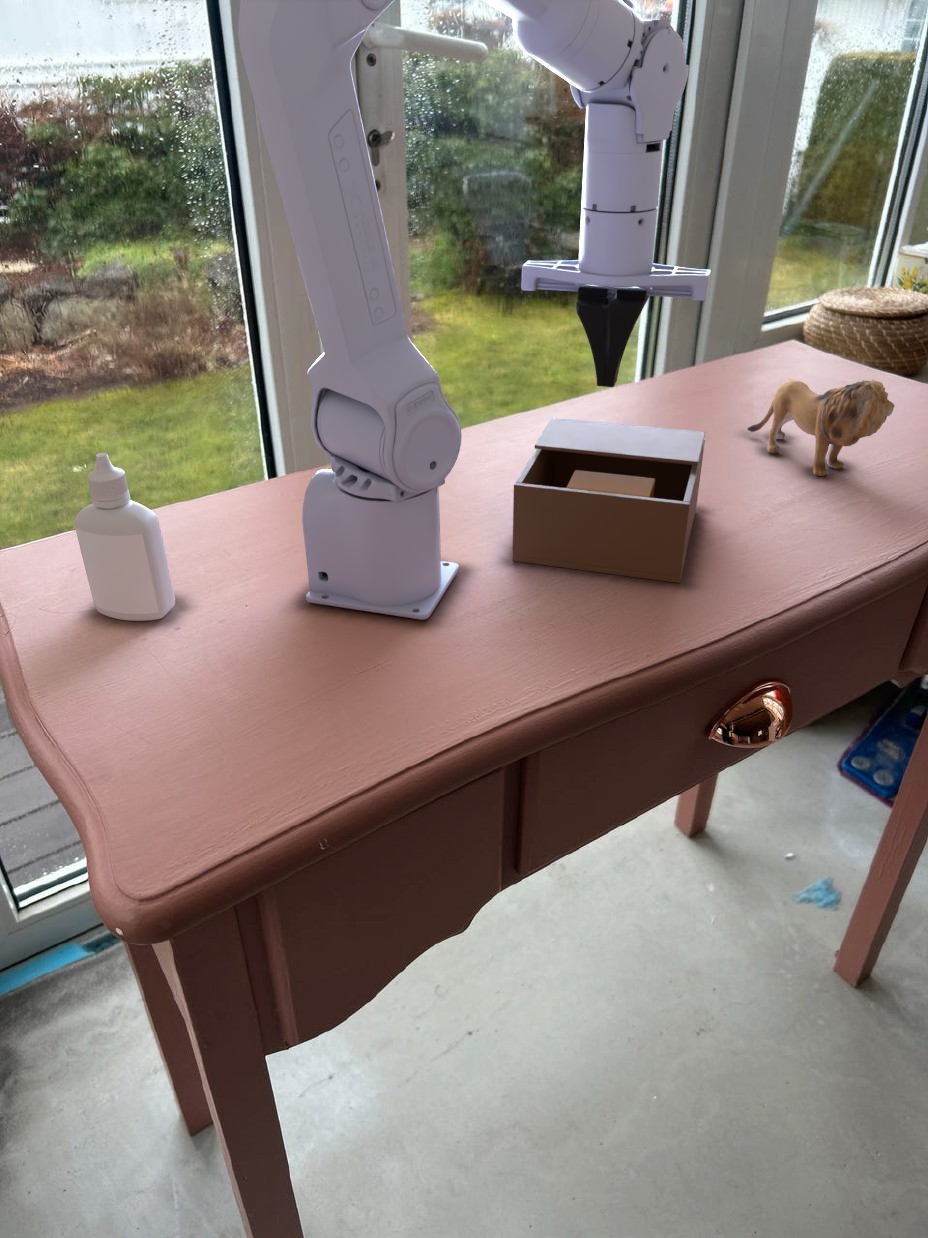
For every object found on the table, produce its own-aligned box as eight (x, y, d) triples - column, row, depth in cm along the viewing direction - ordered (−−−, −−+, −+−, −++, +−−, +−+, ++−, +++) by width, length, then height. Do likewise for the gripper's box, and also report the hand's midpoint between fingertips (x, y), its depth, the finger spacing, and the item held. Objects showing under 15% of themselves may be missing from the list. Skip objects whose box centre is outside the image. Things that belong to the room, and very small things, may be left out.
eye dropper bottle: (131, 635, 66) (94, 475, 60) (88, 608, 69) (48, 453, 63) (184, 610, 69) (154, 455, 63) (141, 585, 72) (108, 435, 66)
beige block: (563, 539, 77) (566, 487, 74) (572, 520, 80) (574, 469, 77) (644, 549, 75) (649, 496, 73) (650, 529, 78) (655, 478, 76)
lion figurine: (887, 476, 88) (910, 381, 83) (849, 490, 85) (871, 393, 80) (763, 429, 98) (778, 342, 93) (727, 440, 96) (740, 351, 91)
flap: (534, 448, 77) (534, 445, 76) (551, 420, 82) (551, 417, 81) (697, 465, 73) (698, 461, 73) (704, 435, 78) (705, 431, 78)
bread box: (512, 561, 75) (513, 484, 71) (548, 494, 85) (550, 424, 82) (679, 583, 72) (689, 504, 68) (695, 510, 82) (705, 439, 79)
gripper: (721, 201, 73) (700, 375, 81) (537, 195, 77) (533, 361, 84) (714, 217, 68) (692, 402, 75) (516, 209, 71) (513, 387, 78)
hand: (607, 383), depth 79 cm, fingers closed
